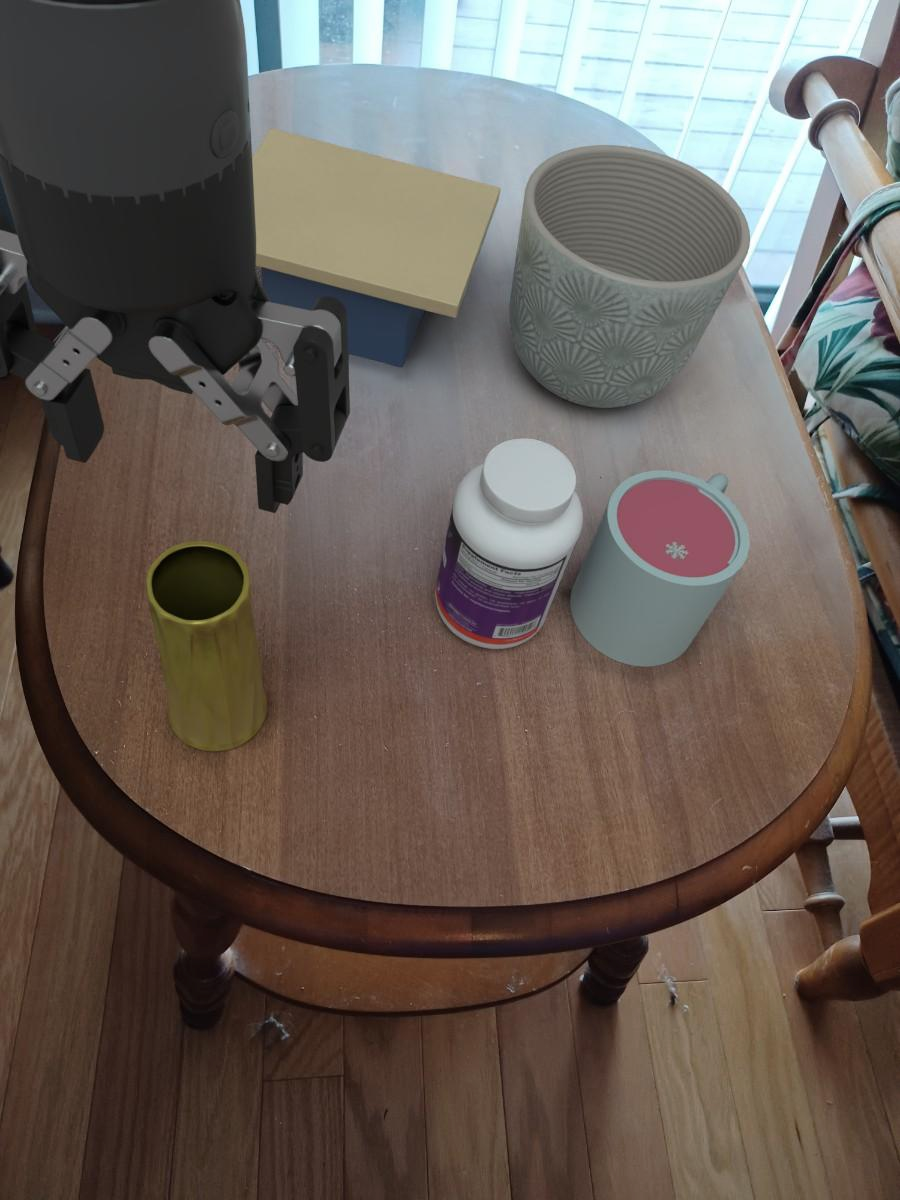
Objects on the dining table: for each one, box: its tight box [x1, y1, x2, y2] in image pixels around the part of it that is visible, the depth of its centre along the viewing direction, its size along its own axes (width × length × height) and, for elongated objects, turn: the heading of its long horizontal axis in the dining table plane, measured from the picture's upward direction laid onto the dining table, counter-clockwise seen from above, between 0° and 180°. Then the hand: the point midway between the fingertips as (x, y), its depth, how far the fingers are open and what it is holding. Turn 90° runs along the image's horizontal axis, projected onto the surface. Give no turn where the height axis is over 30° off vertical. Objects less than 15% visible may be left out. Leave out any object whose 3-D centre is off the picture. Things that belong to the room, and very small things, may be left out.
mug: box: [569, 469, 751, 668], centre depth 65 cm, size 14×9×10 cm
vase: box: [145, 540, 268, 752], centre depth 54 cm, size 6×6×14 cm
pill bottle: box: [434, 437, 584, 650], centre depth 61 cm, size 8×8×14 cm
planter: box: [508, 144, 751, 409], centre depth 76 cm, size 17×17×15 cm
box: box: [252, 127, 501, 368], centre depth 79 cm, size 20×16×9 cm
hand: (180, 472), depth 41 cm, fingers open, 8 cm apart
